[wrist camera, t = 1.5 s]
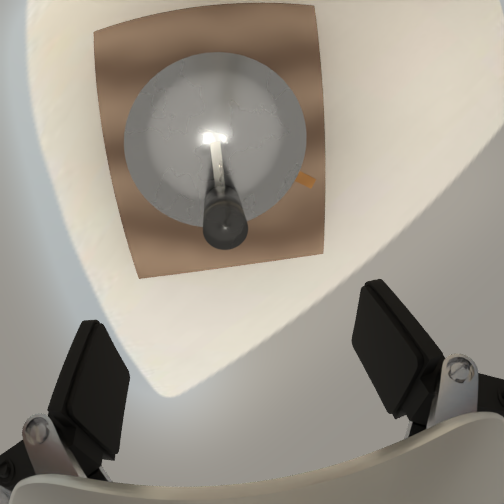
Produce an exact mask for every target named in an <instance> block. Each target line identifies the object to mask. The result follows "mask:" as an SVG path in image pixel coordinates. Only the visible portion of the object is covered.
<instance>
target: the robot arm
mask: <svg viewBox="0 0 504 504" xmlns="http://www.w3.org/2000/svg"><path fill="white" fill-rule="evenodd" d="M352 345H353V348H354V350H355V351H356V353H357V355H358V357H359V359H360V361H361V362H362V364H363V366H364V368H365V370H366V372H367V374H368V376H369V377H370V379H371V381H372V383H373V385H374V387H375V389H376V391H377V393H378V395H379V397H380V398H381V401H382V402H383V404H384V406H385V408H386V410H387V412H388V413H389V414H393V416H394V418H395V419H397V418H400V417H401V416H404V415H407V417H408V419H409V424H408V428H407V431H406V435H405V438H404V440H402V441H399V442H397V443H395V444H392V445H390V446H387V447H385V448H382V449H379V450H377V451H374V452H372V453H369V454H366V455H363V456H361V457H358V458H355V459H352V460H349V461H346V462H342V463H339V464H336V465H332V466H329V467H326V468H321V469H318V470H314V471H310V472H305V473H301V474H297V475H292V476H287V477H282V478H277V479H271V480H264V481H258V482H250V483H242V484H233V485H220V486H201V487H164V486H146V485H134V484H123V483H115V482H113V481H112V480H111V479H110V477H109V476H108V474H107V473H106V472H105V470H104V469H103V467H102V465H101V463H102V459H105V460H115V454H117V453H118V452H119V446H120V438H121V431H122V423H123V416H124V410H125V403H126V398H127V392H128V386H129V381H130V375H129V371H128V369H127V367H126V366H125V364H124V362H123V360H122V359H121V357H120V355H119V353H118V351H117V350H116V348H115V346H114V344H113V342H112V340H111V338H110V336H109V334H108V332H107V330H106V328H105V326H104V325H103V324H102V323H100V322H99V321H98V320H86V321H82V323H81V325H80V327H79V329H78V331H77V333H76V336H75V338H74V340H73V343H72V345H71V347H70V350H69V352H68V355H67V357H66V360H65V362H64V365H63V367H62V370H61V372H60V375H59V378H58V380H57V383H56V386H55V389H54V392H53V394H52V398H51V400H50V403H49V406H48V411H49V413H48V416H47V415H45V414H35V415H32V416H31V417H30V418H28V419H27V421H26V422H25V424H24V426H23V430H22V436H23V440H22V441H20V442H19V443H17V444H16V445H15V446H13V447H12V448H10V449H9V450H7V451H6V452H4V453H3V454H1V455H0V504H504V380H503V379H499V378H495V377H491V376H487V375H484V374H480V373H478V369H477V366H476V364H475V362H474V361H473V360H472V359H471V358H469V357H468V356H466V355H463V354H451V355H450V356H448V357H446V358H445V357H444V356H443V353H442V352H441V350H440V349H439V348H438V346H437V345H436V344H435V342H434V341H433V340H432V339H431V337H430V336H429V335H428V333H427V332H426V331H425V330H424V328H423V327H422V326H421V325H420V324H419V322H418V321H417V320H416V319H415V317H414V316H413V315H412V314H411V313H410V312H409V310H408V309H407V308H406V307H405V305H404V304H403V303H402V302H401V301H400V300H399V298H398V297H397V296H396V295H395V294H394V293H393V291H392V290H391V289H390V288H389V287H388V286H387V285H386V283H385V282H384V281H383V280H382V279H378V280H372V281H368V282H366V283H365V286H363V287H362V288H361V292H360V298H359V304H358V309H357V315H356V321H355V326H354V330H353V335H352Z"/></svg>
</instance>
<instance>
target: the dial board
mask: <svg viewBox="0 0 504 504" xmlns="http://www.w3.org/2000/svg"><path fill="white" fill-rule="evenodd" d="M212 52H224V53H233V54H238V55H242V56H246V57H248V58H251V59H254V60H256V61H258V62H260V63H262V64H264V65H266V66H267V67H269V68H270V69H271V70H273V71H274V72H275V73H277V74H278V75H279V76H280V77H281V78H282V79H283V80H284V81H285V82H286V83H287V85H288V86H289V87H290V89H291V90H292V91H293V93H294V95H295V96H296V98H297V100H298V102H299V104H300V107H301V109H302V112H303V116H304V120H305V125H306V150H305V156H304V160H303V163H302V166H301V169H300V171H299V173H298V176H297V178H296V179H295V181H294V183H293V184H292V186H291V188H290V189H289V190H288V191H287V193H286V194H285V195H284V196H283V197H282V198H281V199H280V200H279V201H278V202H277V203H276V204H275V205H274V206H272V207H271V208H270V209H269V210H267V211H266V212H264V213H262V214H261V215H259V216H257V217H255V218H253V219H251V220H249V221H247V224H248V234H247V236H246V238H245V240H244V241H243V242H242V243H241V244H240V245H239V246H237V247H236V248H233V249H230V250H220V249H216V248H214V247H212V246H211V245H210V244H209V243H208V242H207V241H206V240H205V238H204V235H203V227H199V226H193V225H189V224H186V223H182V222H179V221H177V220H175V219H172V218H170V217H169V216H167V215H165V214H163V213H162V212H160V211H159V210H158V209H156V208H155V207H154V206H153V205H152V204H151V203H150V202H149V201H148V200H147V199H146V198H145V197H144V196H143V195H142V194H141V192H140V191H139V190H138V188H137V186H136V185H135V183H134V181H133V179H132V177H131V175H130V172H129V170H128V167H127V163H126V159H125V152H124V132H125V126H126V121H127V118H128V115H129V112H130V109H131V107H132V105H133V103H134V101H135V99H136V98H137V96H138V94H139V93H140V91H141V90H142V89H143V88H144V86H145V85H146V84H147V83H148V82H149V81H150V80H151V79H152V78H153V77H154V76H155V75H156V74H157V73H159V72H160V71H161V70H163V69H164V68H166V67H167V66H169V65H171V64H173V63H175V62H177V61H179V60H181V59H184V58H187V57H190V56H193V55H197V54H202V53H212ZM94 56H95V71H96V83H97V93H98V102H99V110H100V117H101V124H102V131H103V137H104V143H105V149H106V154H107V160H108V165H109V170H110V174H111V179H112V184H113V188H114V193H115V197H116V201H117V205H118V209H119V213H120V217H121V221H122V224H123V228H124V232H125V235H126V239H127V242H128V246H129V249H130V252H131V256H132V259H133V262H134V265H135V268H136V271H137V274H138V277H139V279H141V278H149V277H157V276H165V275H173V274H180V273H188V272H195V271H203V270H210V269H218V268H225V267H232V266H240V265H247V264H254V263H261V262H268V261H276V260H283V259H290V258H297V257H303V256H310V255H317V254H323V249H324V223H325V130H324V106H323V88H322V74H321V62H320V51H319V41H318V32H317V23H316V15H315V8H314V6H312V5H301V4H286V3H236V4H221V5H210V6H201V7H193V8H186V9H180V10H174V11H169V12H164V13H159V14H154V15H150V16H145V17H141V18H137V19H133V20H130V21H126V22H123V23H119V24H116V25H113V26H110V27H107V28H104V29H101V30H98V31H95V32H94Z"/></svg>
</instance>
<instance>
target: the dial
mask: <svg viewBox="0 0 504 504" xmlns="http://www.w3.org/2000/svg"><path fill="white" fill-rule="evenodd" d="M305 150H306V125H305V120H304V116H303V112H302V109H301V107H300V104H299V102H298V100H297V98H296V96H295V95H294V93H293V91H292V90H291V89H290V87H289V86H288V85H287V83H286V82H285V81H284V80H283V79H282V78H281V77H280V76H279V75H278V74H277V73H275V72H274V71H273V70H271V69H270V68H269V67H267V66H266V65H264V64H262V63H260V62H258V61H256V60H254V59H251V58H248V57H246V56H242V55H238V54H233V53H224V52H212V53H202V54H197V55H193V56H190V57H187V58H184V59H181V60H179V61H177V62H175V63H173V64H171V65H169V66H167V67H166V68H164V69H163V70H161V71H160V72H159V73H157V74H156V75H155V76H154V77H153V78H152V79H151V80H150V81H149V82H148V83H147V84H146V85H145V86H144V88H143V89H142V90H141V91H140V93H139V94H138V96H137V98H136V99H135V101H134V103H133V105H132V107H131V109H130V112H129V115H128V118H127V121H126V126H125V132H124V152H125V159H126V163H127V167H128V170H129V172H130V175H131V177H132V179H133V181H134V183H135V185H136V186H137V188H138V190H139V191H140V192H141V194H142V195H143V196H144V197H145V198H146V199H147V200H148V201H149V202H150V203H151V204H152V205H153V206H154V207H155V208H156V209H158V210H159V211H160V212H162V213H163V214H165V215H167V216H169V217H170V218H172V219H175V220H177V221H179V222H182V223H186V224H189V225H193V226H199V227H203V235H204V238H205V240H206V241H207V242H208V243H209V244H210V245H211V246H212V247H214V248H216V249H220V250H230V249H233V248H236V247H237V246H239V245H240V244H241V243H242V242H243V241H244V240H245V238H246V236H247V234H248V224H247V221H249V220H251V219H253V218H255V217H257V216H259V215H261V214H262V213H264V212H266V211H267V210H269V209H270V208H271V207H272V206H274V205H275V204H276V203H277V202H278V201H279V200H280V199H281V198H282V197H283V196H284V195H285V194H286V193H287V191H288V190H289V189H290V188H291V186H292V184H293V183H294V181H295V179H296V178H297V176H298V173H299V171H300V169H301V166H302V163H303V160H304V156H305Z"/></svg>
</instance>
